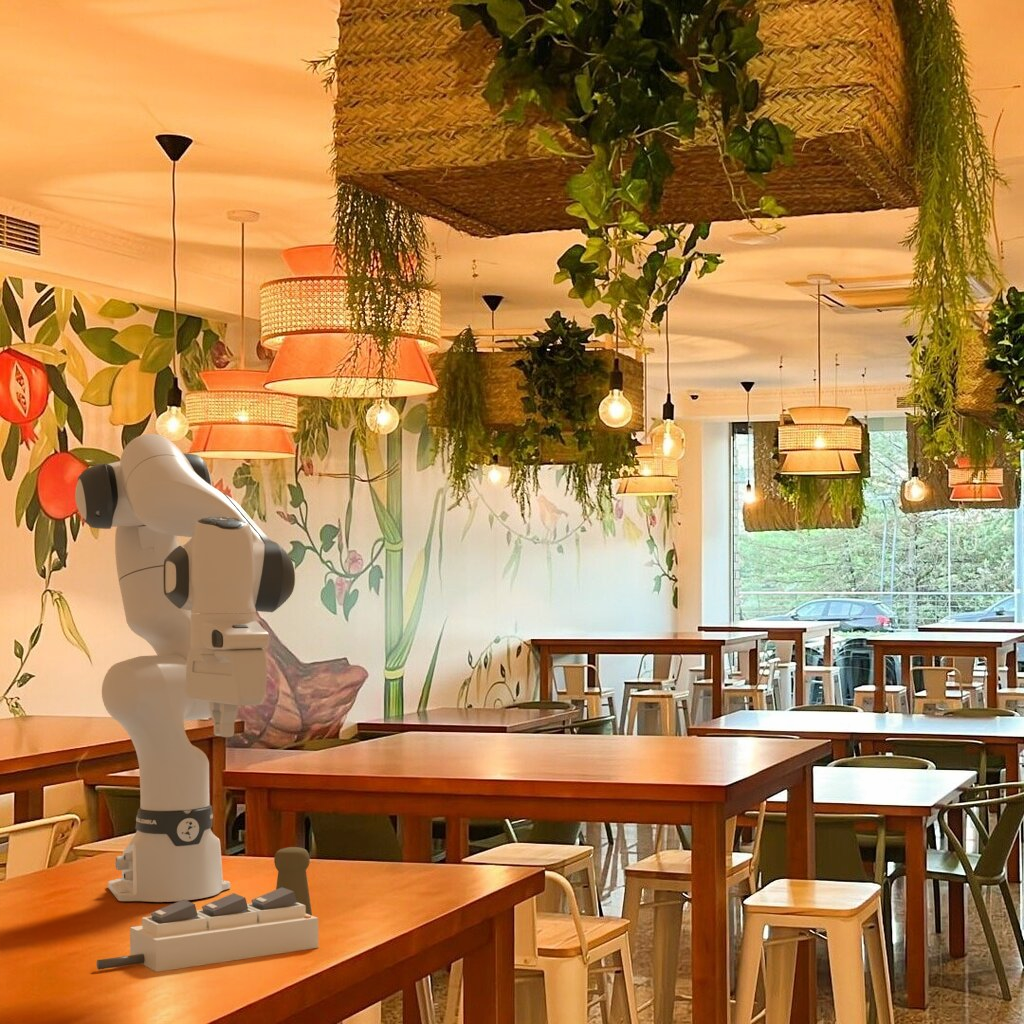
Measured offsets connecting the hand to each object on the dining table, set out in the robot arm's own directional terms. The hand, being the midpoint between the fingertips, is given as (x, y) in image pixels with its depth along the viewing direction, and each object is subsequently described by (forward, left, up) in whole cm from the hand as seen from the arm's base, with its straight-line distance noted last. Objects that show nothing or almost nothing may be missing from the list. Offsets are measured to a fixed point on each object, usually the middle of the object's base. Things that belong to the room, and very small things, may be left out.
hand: (223, 736), depth 211 cm
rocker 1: (0, -7, -23) cm, 24 cm away
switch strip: (0, -3, -29) cm, 29 cm away
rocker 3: (0, +7, -23) cm, 24 cm away
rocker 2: (0, 0, -23) cm, 23 cm away
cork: (-12, +16, -29) cm, 35 cm away
